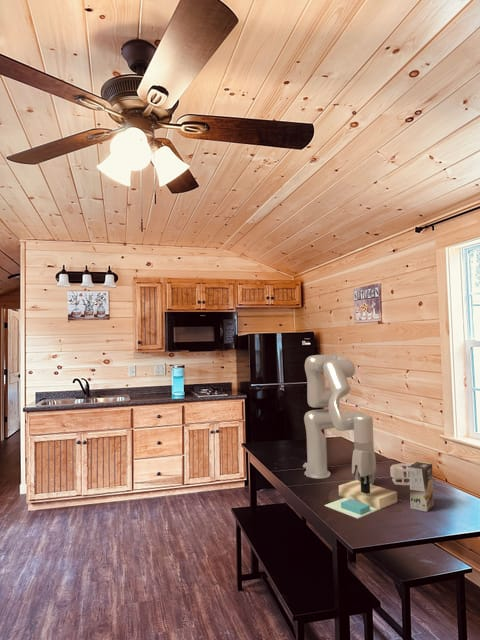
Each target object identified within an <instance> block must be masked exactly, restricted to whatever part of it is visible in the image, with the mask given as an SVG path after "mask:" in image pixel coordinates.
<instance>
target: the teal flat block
mask: <svg viewBox="0 0 480 640" xmlns="http://www.w3.org/2000/svg"><path fill="white" fill-rule="evenodd" d="M370 507H371V506H370V505H367V504H364V503H361V502H358V501H355V500H352V499H349V500H347V501H344V502H341V508H343V509H346V510H348V511H351V512H354V513H357V514H359V515H361V514H364V513H366V512H368V511H370Z"/></svg>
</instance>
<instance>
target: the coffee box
mask: <svg viewBox="0 0 480 640" xmlns="http://www.w3.org/2000/svg"><path fill="white" fill-rule="evenodd" d="M420 462H421V461H420ZM420 462H419V461H416V462H413V463H414V464H412V465H411V466H408V469H409V471H408V476H409V478H410V479H409V482H410V485H409V499H410V503H409V504H410V506H409V507H410V509H412V510H416V511H420V512H425V513H427V512H428V511H429V510H430V509H431V508H432V507H433V506H434V503H435V502H434V483H433V481H434V480H433V477H434V476H433V464H432V463H430V464H428V463H429V462H425V463H420Z"/></svg>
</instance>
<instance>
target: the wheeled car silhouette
mask: <svg viewBox="0 0 480 640" xmlns="http://www.w3.org/2000/svg"><path fill="white" fill-rule="evenodd" d="M414 463H415V462H409V463H408V462H405V463H397V464H392V465H391V466H390V467H389V469H390V473H389V474H390V477H391V479H392V482H393V484H394V485H396V486H410V481H408V482H405V480H410V478H409V466H411V465H412V464H414ZM420 463H426V462H424V461H423V462H421V461H420ZM427 463H428V464H431V463H429V462H427ZM404 467H406V468H404ZM404 472H406V476H405V474H404ZM399 480H401V482H400V481H399ZM398 481H399V482H398Z"/></svg>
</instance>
